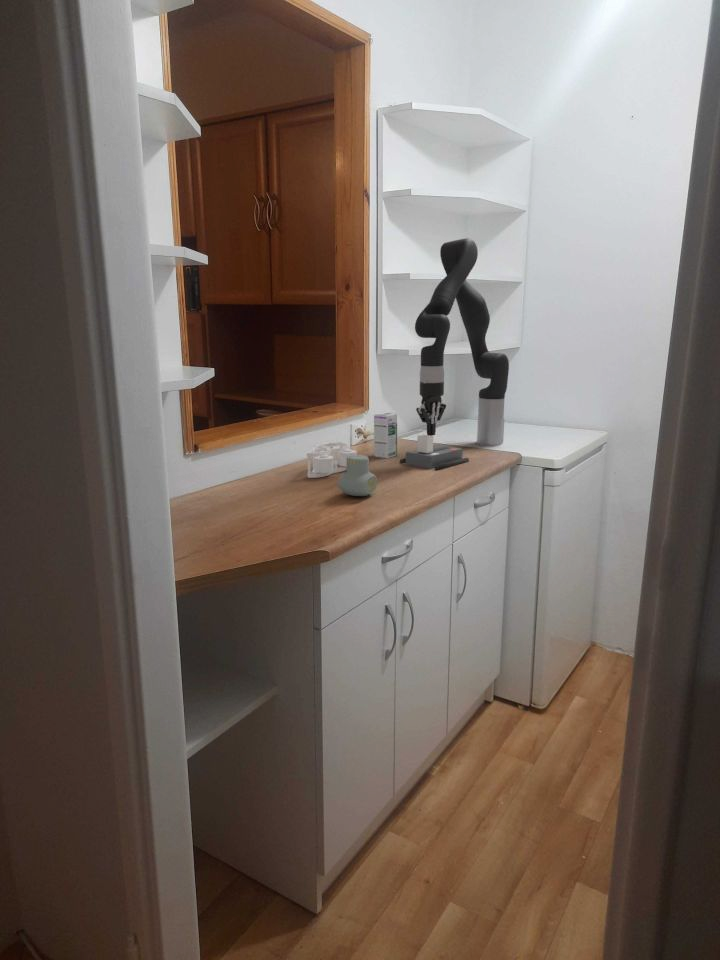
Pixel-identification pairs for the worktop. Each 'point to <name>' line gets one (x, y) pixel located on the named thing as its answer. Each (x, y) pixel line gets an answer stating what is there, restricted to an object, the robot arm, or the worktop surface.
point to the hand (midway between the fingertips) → (431, 435)
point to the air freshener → (357, 477)
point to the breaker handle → (425, 443)
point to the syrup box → (385, 435)
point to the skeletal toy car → (328, 459)
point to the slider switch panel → (444, 463)
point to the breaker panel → (433, 456)
